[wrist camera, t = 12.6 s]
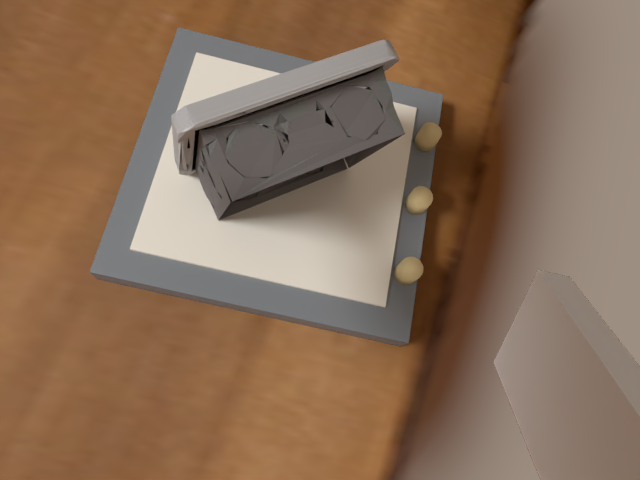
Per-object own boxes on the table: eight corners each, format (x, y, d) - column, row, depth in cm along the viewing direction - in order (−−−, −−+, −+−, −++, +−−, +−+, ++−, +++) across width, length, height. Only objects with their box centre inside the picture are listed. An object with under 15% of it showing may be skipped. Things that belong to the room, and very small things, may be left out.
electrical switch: (332, 107, 30) (377, -2, 21) (372, 187, 29) (436, 110, 20) (174, 165, 27) (148, 69, 18) (213, 253, 27) (206, 199, 18)
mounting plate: (181, 43, 31) (175, 12, 29) (435, 107, 32) (450, 82, 30) (97, 279, 26) (82, 265, 24) (401, 346, 27) (416, 339, 25)
